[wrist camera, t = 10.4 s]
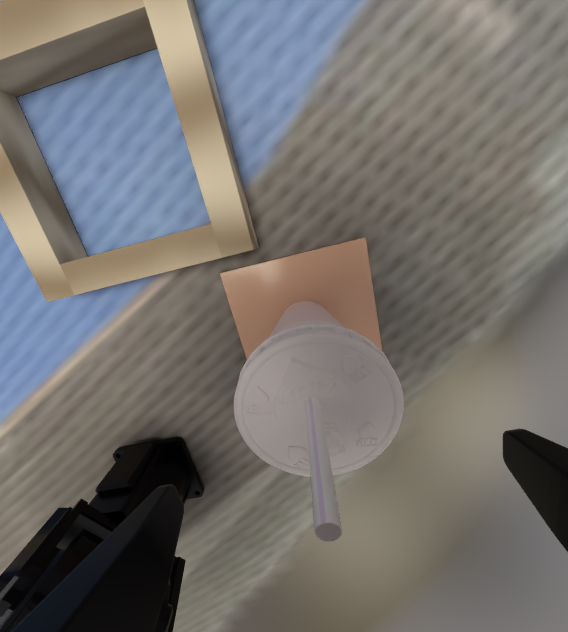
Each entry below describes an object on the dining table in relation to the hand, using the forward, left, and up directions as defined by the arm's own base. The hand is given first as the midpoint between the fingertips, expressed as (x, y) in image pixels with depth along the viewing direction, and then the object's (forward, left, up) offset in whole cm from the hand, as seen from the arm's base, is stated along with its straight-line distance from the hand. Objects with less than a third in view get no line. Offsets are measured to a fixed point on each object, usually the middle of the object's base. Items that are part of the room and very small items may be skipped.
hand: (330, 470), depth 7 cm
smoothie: (0, 0, -12) cm, 12 cm away
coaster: (0, 0, -13) cm, 13 cm away
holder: (+13, +9, -13) cm, 20 cm away
